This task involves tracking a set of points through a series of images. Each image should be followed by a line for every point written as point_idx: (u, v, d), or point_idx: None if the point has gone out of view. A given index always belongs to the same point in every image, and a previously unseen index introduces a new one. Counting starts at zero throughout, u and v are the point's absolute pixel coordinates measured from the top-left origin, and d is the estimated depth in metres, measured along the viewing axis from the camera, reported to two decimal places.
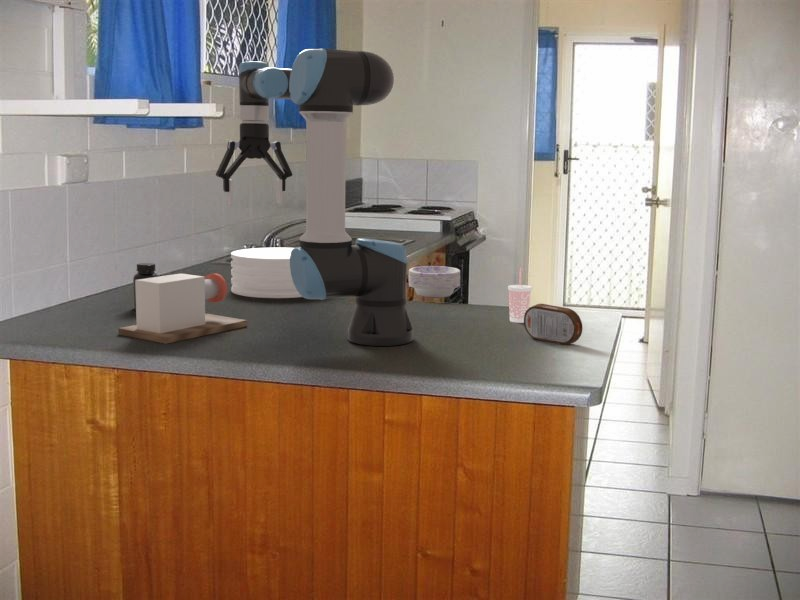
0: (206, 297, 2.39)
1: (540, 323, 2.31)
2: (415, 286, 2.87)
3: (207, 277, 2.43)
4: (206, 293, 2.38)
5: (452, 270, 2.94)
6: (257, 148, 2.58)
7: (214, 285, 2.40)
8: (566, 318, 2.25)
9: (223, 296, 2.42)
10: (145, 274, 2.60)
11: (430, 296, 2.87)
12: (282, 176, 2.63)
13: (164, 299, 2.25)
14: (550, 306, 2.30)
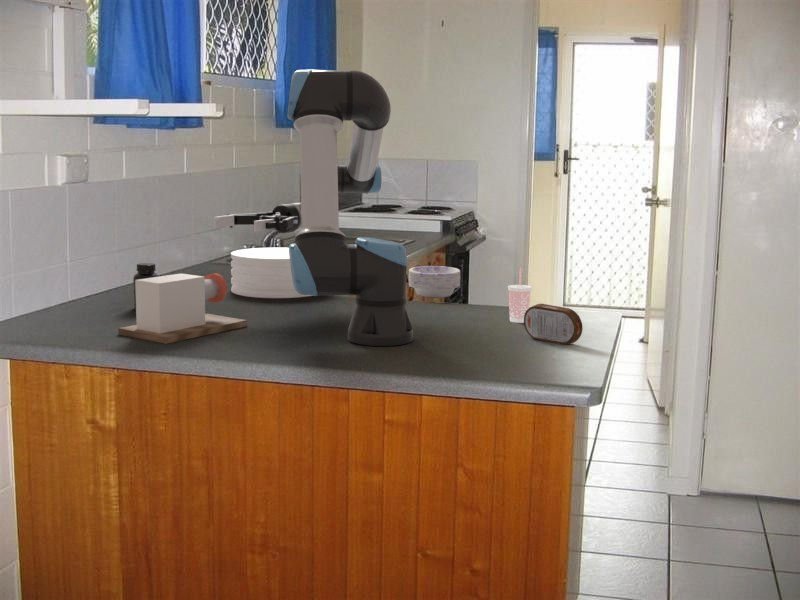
0: (206, 297, 2.39)
1: (540, 323, 2.31)
2: (415, 286, 2.87)
3: (207, 277, 2.43)
4: (206, 293, 2.38)
5: (452, 270, 2.94)
6: (275, 215, 2.58)
7: (214, 285, 2.40)
8: (566, 318, 2.26)
9: (223, 296, 2.42)
10: (145, 274, 2.60)
11: (430, 296, 2.87)
12: None
13: (164, 299, 2.25)
14: (550, 306, 2.30)
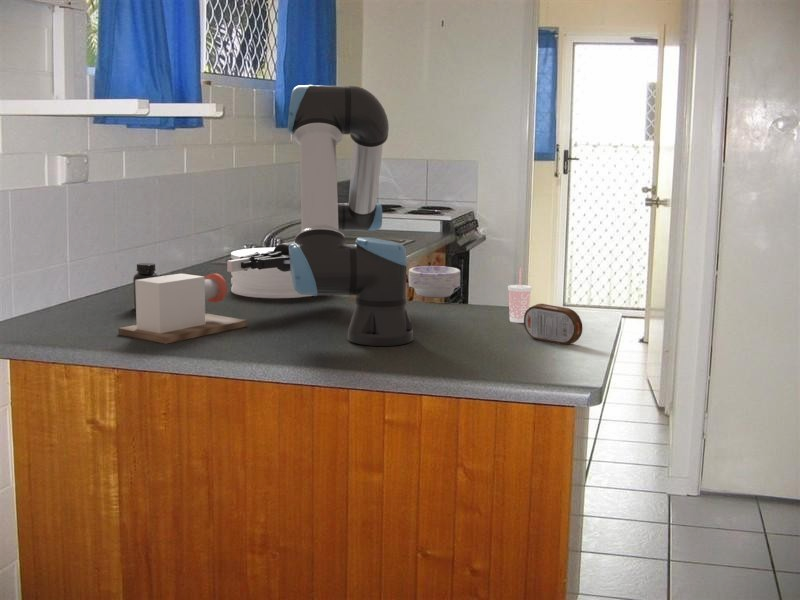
0: (206, 297, 2.39)
1: (540, 323, 2.31)
2: (415, 286, 2.87)
3: (207, 277, 2.43)
4: (206, 293, 2.38)
5: (452, 270, 2.94)
6: None
7: (214, 285, 2.40)
8: (566, 318, 2.26)
9: (223, 296, 2.42)
10: (145, 274, 2.60)
11: (430, 296, 2.87)
12: None
13: (164, 299, 2.25)
14: (550, 306, 2.30)
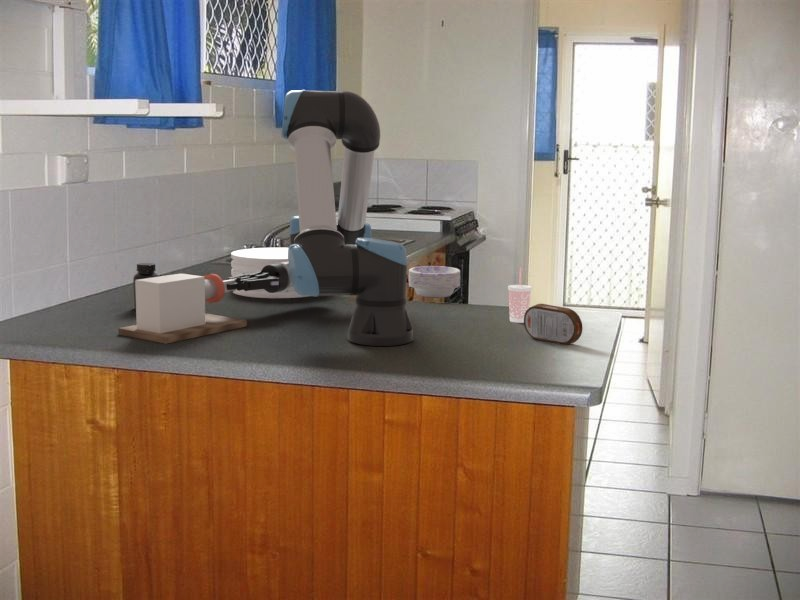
0: None
1: (540, 323, 2.31)
2: (415, 286, 2.87)
3: (205, 277, 2.42)
4: None
5: (452, 270, 2.94)
6: None
7: (212, 285, 2.39)
8: (566, 318, 2.26)
9: (221, 296, 2.41)
10: (145, 274, 2.60)
11: (430, 296, 2.87)
12: None
13: (164, 299, 2.25)
14: (550, 306, 2.30)
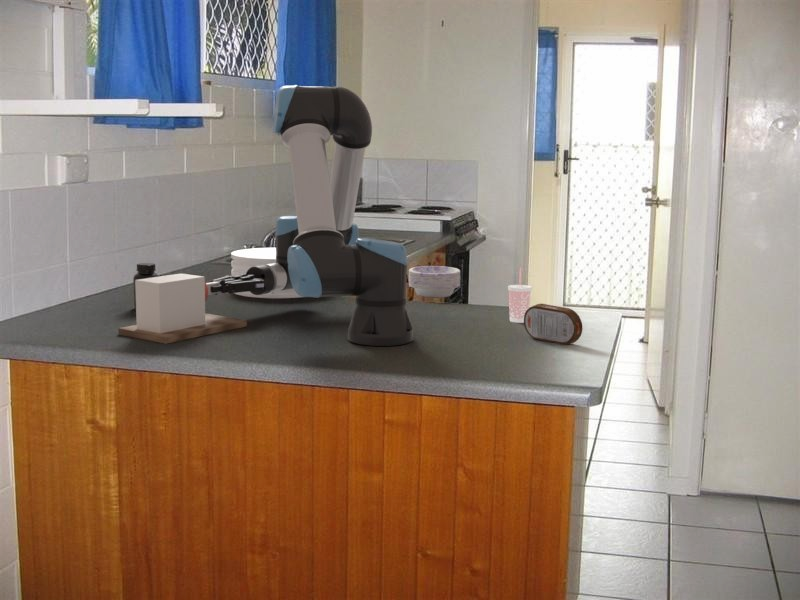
0: None
1: (540, 323, 2.31)
2: (415, 286, 2.87)
3: None
4: None
5: (452, 270, 2.94)
6: None
7: None
8: (566, 318, 2.25)
9: None
10: (145, 274, 2.60)
11: (430, 296, 2.87)
12: None
13: (164, 299, 2.25)
14: (550, 306, 2.30)
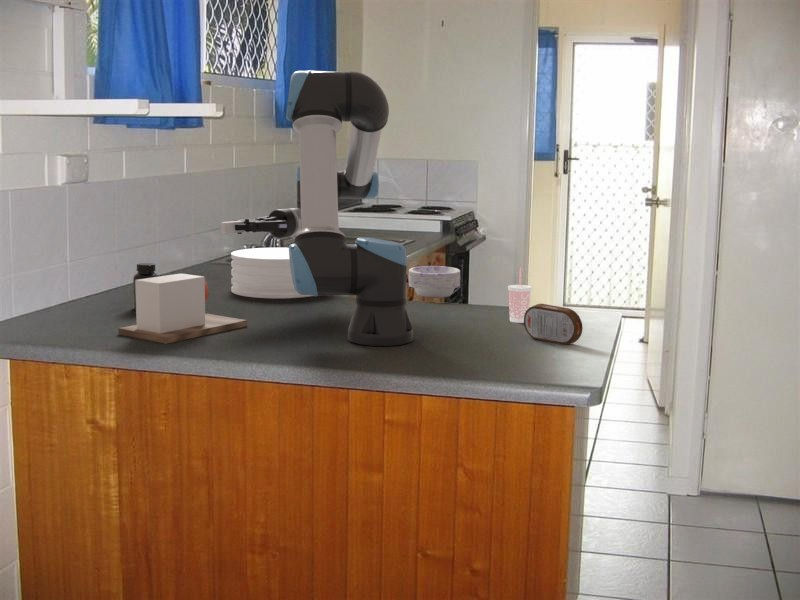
0: None
1: (540, 323, 2.31)
2: (415, 286, 2.87)
3: None
4: None
5: (452, 270, 2.94)
6: None
7: None
8: (566, 318, 2.26)
9: (205, 299, 2.37)
10: (145, 274, 2.60)
11: (430, 296, 2.87)
12: None
13: (164, 299, 2.25)
14: (550, 306, 2.30)
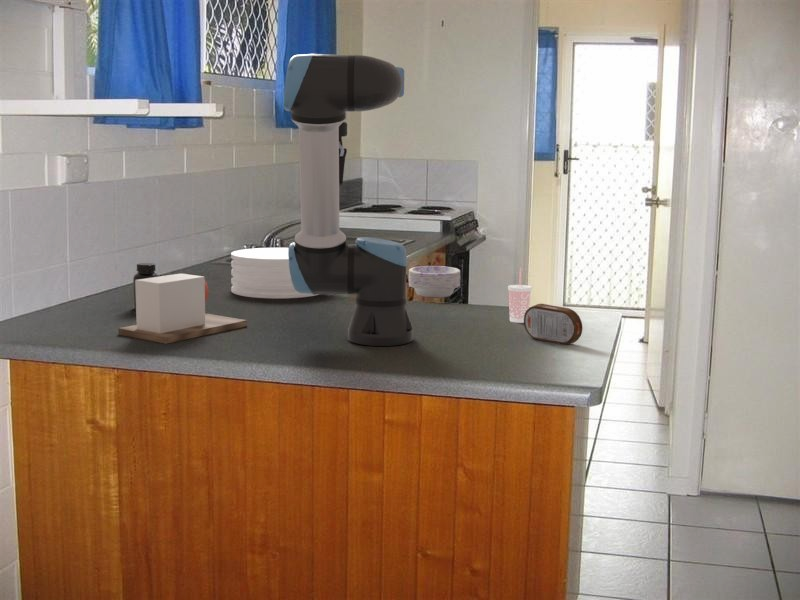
0: None
1: (540, 323, 2.31)
2: (415, 286, 2.87)
3: None
4: None
5: (452, 270, 2.94)
6: None
7: None
8: (566, 318, 2.26)
9: (205, 299, 2.37)
10: (145, 274, 2.60)
11: (430, 296, 2.87)
12: None
13: (164, 299, 2.25)
14: (550, 306, 2.30)
